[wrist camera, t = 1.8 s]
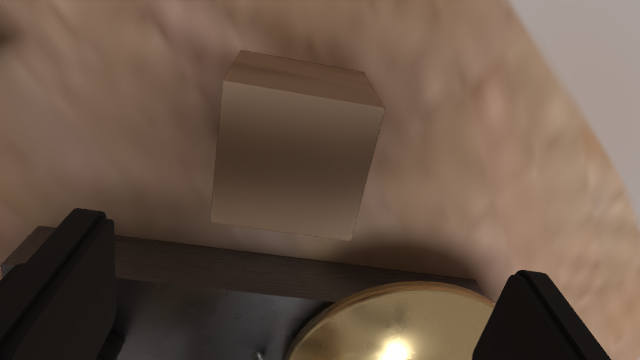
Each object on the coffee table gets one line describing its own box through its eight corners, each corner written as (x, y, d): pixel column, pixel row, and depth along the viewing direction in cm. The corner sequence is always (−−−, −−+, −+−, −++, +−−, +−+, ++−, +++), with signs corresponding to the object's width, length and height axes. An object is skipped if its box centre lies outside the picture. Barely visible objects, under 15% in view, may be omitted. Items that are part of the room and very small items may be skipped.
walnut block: (338, 179, 25) (350, 240, 19) (229, 162, 24) (209, 222, 18) (363, 71, 22) (385, 108, 17) (241, 49, 21) (223, 80, 16)
